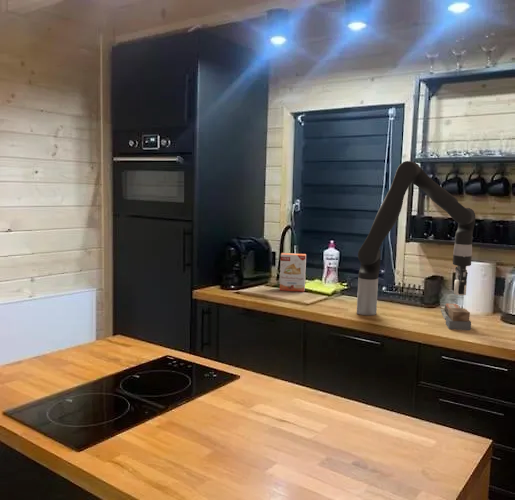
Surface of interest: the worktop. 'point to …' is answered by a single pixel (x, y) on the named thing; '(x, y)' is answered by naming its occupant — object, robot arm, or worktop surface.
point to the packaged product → (446, 309)
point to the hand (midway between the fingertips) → (459, 292)
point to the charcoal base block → (458, 324)
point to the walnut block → (459, 314)
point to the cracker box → (292, 272)
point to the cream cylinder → (456, 288)
